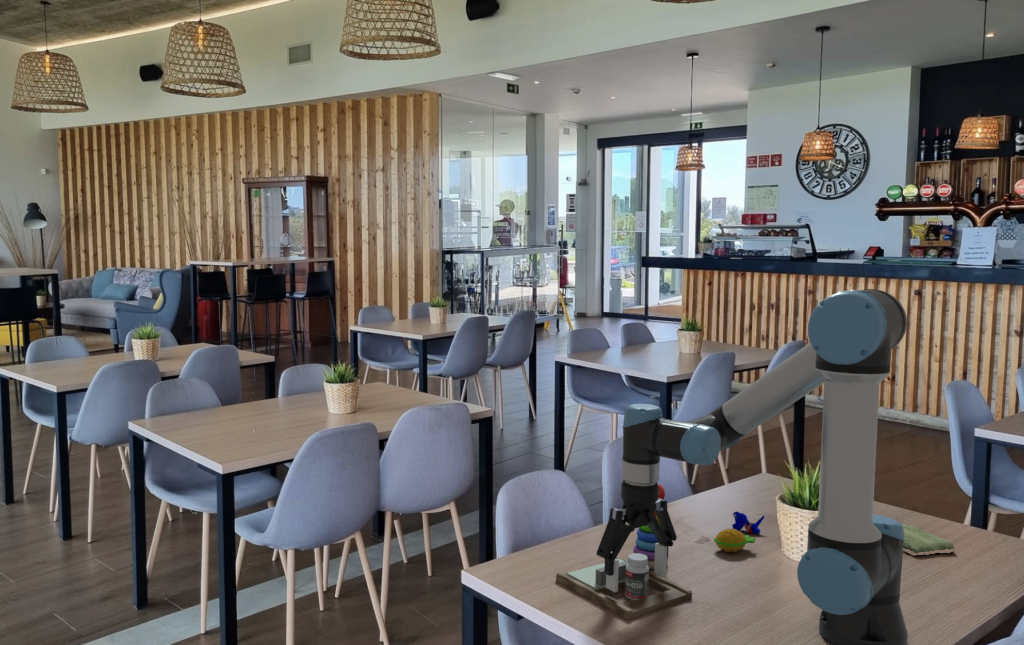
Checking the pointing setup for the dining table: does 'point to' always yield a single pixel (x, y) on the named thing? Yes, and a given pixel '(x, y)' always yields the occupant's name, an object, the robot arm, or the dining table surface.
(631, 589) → the pill bottle
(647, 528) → the stacking toy
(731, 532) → the toy pineapple
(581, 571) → the lid
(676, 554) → the dining table surface
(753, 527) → the figurine
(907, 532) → the washcloth
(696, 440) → the robot arm
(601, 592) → the wooden frame
